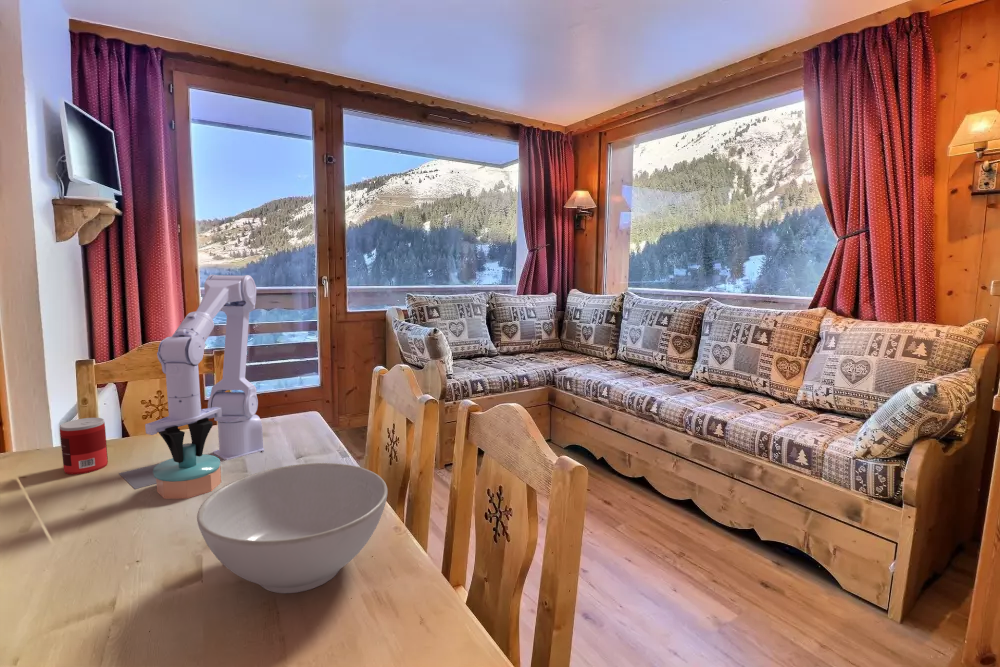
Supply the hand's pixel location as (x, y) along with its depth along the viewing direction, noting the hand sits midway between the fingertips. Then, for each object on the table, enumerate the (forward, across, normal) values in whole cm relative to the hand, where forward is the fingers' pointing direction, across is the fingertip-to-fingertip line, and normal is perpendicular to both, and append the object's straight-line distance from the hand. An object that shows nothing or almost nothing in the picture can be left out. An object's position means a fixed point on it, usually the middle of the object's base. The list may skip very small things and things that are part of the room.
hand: (188, 458), depth 108 cm
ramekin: (+7, 0, 0) cm, 7 cm away
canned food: (+7, +5, -30) cm, 31 cm away
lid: (+2, 0, 0) cm, 2 cm away
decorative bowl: (+7, +9, +43) cm, 45 cm away
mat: (+7, -1, -13) cm, 15 cm away
